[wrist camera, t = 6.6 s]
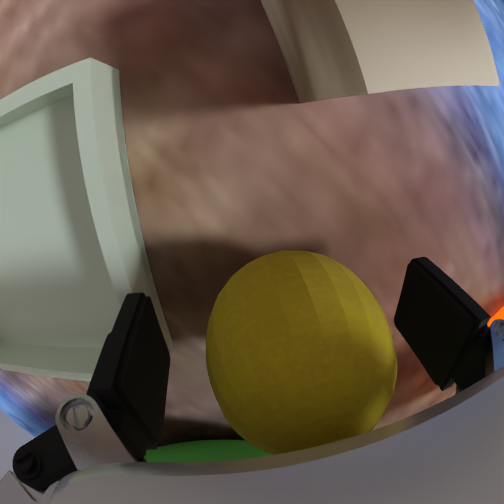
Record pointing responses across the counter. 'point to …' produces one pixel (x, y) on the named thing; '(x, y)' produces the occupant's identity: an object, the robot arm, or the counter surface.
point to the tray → (66, 223)
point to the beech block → (380, 45)
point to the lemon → (299, 353)
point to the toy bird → (204, 451)
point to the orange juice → (497, 316)
